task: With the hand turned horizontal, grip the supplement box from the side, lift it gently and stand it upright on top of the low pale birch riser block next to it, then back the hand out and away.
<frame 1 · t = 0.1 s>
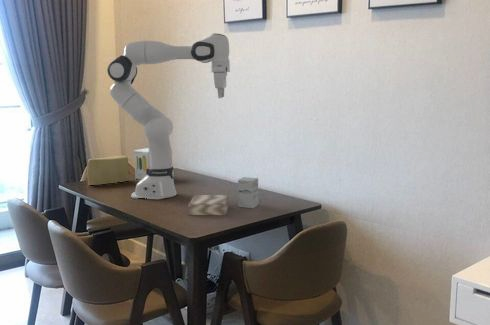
hand: (221, 97, 245), 48 cm above the table, tool pointing down, fingers open, 8 cm apart
cheese: (107, 184, 285), on the table
supplement box 2: (151, 179, 295), on the table
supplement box: (248, 206, 231), on the table
riser: (209, 210, 225), on the table
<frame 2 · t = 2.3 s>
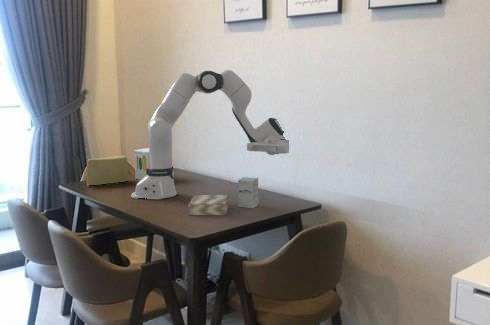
hand: (259, 149, 237), 24 cm above the table, tool horizontal, fingers open, 8 cm apart
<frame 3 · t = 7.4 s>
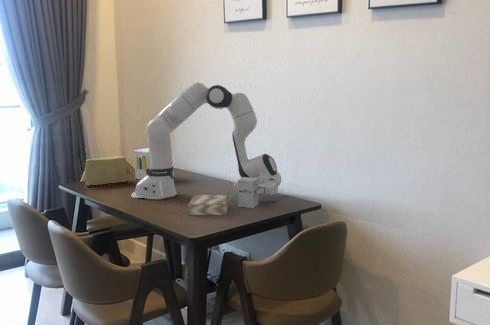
hand: (247, 191, 229), 7 cm above the table, tool horizontal, fingers closed on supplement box, 7 cm apart
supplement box: (248, 206, 231), on the table, touching gripper
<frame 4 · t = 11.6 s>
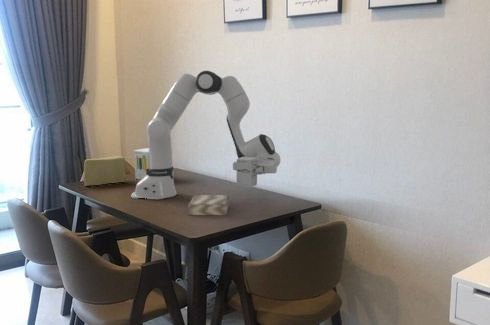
hand: (246, 169, 227), 17 cm above the table, tool horizontal, fingers closed on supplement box, 7 cm apart
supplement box: (246, 186, 229), point 9 cm above the table, touching gripper
when the fingers open (16 cm above the table, at t = 15.8 s): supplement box drops 3 cm, resting on riser.
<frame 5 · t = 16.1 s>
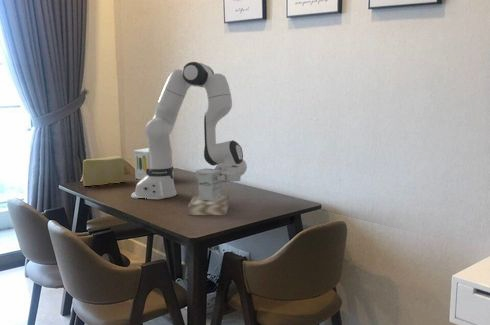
hand: (207, 178, 221), 15 cm above the table, tool horizontal, fingers open, 7 cm apart
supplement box: (209, 199, 224), point 5 cm above the table, touching gripper, riser
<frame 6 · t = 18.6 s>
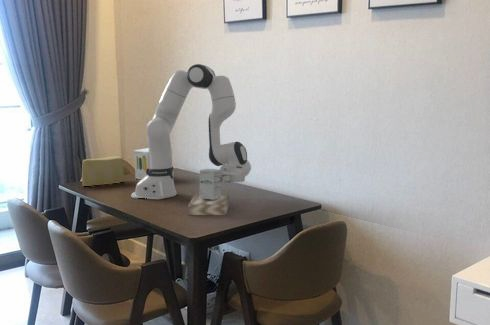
hand: (212, 178, 225), 14 cm above the table, tool horizontal, fingers open, 8 cm apart
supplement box: (210, 198, 224), point 5 cm above the table, touching riser
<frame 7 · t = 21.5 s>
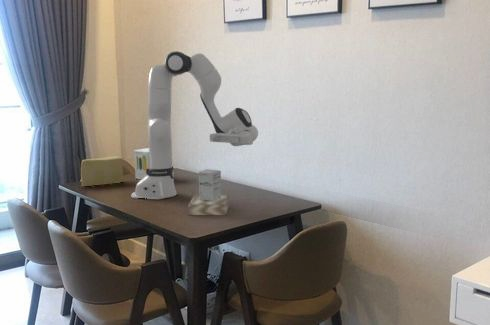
hand: (221, 140, 230), 30 cm above the table, tool horizontal, fingers open, 8 cm apart
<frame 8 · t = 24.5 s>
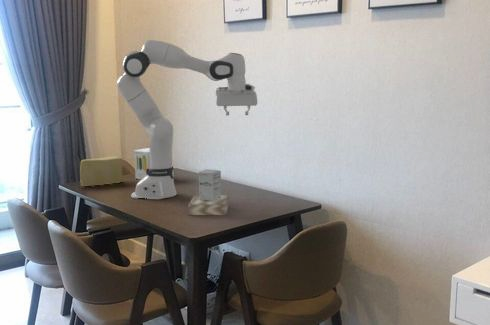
hand: (237, 115, 251), 39 cm above the table, tool pointing down, fingers open, 8 cm apart
at the end: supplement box inside the target area on the riser (0.6 cm from its centre), point 4.8 cm above the riser's base; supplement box tilted 0°; the gripper is holding nothing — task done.
